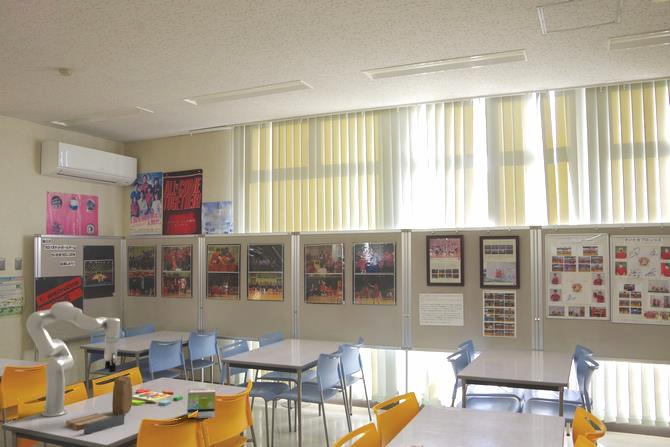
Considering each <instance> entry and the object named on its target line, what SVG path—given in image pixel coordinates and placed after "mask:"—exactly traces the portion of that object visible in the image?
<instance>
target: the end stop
mask: <svg viewBox="0 0 670 447" xmlns="http://www.w3.org/2000/svg"><path fill="white" fill-rule="evenodd" d="M125 414H126V413H125ZM125 414H115V415H111V416H108V417H107V418H103V419H100V420H96V421H92V422H88V423H85V424H84V429H83V434H84V435H90V434H94V433H97V432H100V431H103V430H108V429H111V428H115V427H118V426H121V425H124V424H125ZM93 432H94V433H93Z"/></svg>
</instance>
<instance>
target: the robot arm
mask: <svg viewBox="0 0 670 447" xmlns="http://www.w3.org/2000/svg"><path fill="white" fill-rule="evenodd" d="M60 320H63V321H67V322H70V323H73V324H74V325H75V326H77V327H78V328H80V329H82V330H86V331H88V332H93V333H97V332H100V331H105V332H104V334H105V335H104V343H105V344H104V345H105V346H104V353H103V359H104V360H105V363H104V369H105V370H108V372H109V373H116V366H117V365H116V364H117V357H118V343H120V332H121V331H120V330H121V319H120V318H118V317H107V316H106V317H105V316H99V317H95V318H94V317H91V316H88V315H86V314H83V310H82V309H81V308H78V307H76V306H74V305H73V304H72V303H71V301H70V302H69V301H59V302H55V303H54V304H52V305H51V307H50V308H49V309H44V310H39V311H35V312H32V313H31V314H30V315H29V316H28V317H27V320H26V322H25V323H26V330H27V332H28V334H29V335H30V337H31V339H32V341H33V343H34V344H35V347H36V348H37V350H38V352H39V354H40V356H42V358H45V359H49V358H51V359H49V361H48V362H47V363H46V364H45V376H46V389H45V393H46V394H45V405H44V406H43V409H44V411H43V412H42V413H41V415H42V416H43V417H47V418H49V417H59V416H63V415H65V414H67V413H68V410H67V409H65V395H66V394H65V393H66V377H65V373H66V372H68V371H70V370H72V368H73V367H74V364H75V361H74V358H73V356H72V354H71V353H70V351H69V349H68V348H69V347H67V344H66V343H65V342H64V341H63V340H61V339H59V338H52V337H51V335H50V333H49V332H48V330H47V329H46V328H45V327H44V326H47V325H52V324H54V323H56V322H58V321H60Z"/></svg>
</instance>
